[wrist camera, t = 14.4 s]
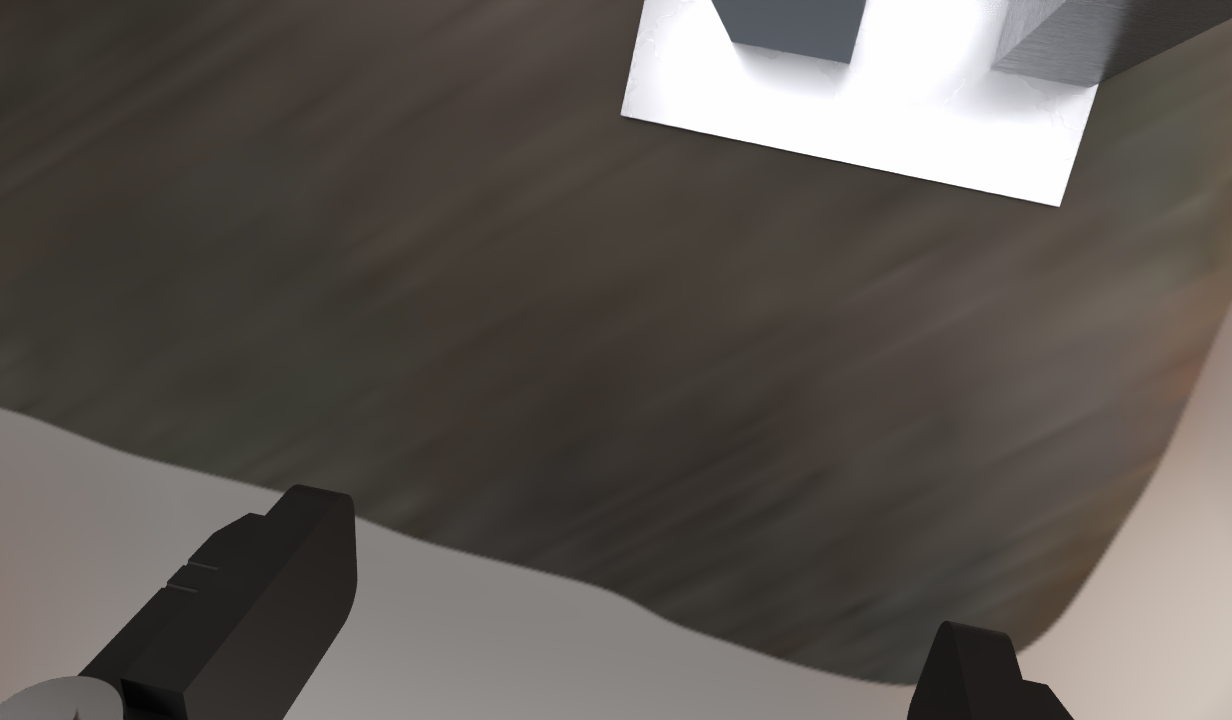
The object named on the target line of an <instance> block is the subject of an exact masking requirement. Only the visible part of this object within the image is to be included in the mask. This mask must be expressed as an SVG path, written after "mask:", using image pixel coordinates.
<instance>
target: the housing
mask: <svg viewBox="0 0 1232 720" xmlns="http://www.w3.org/2000/svg"><path fill="white" fill-rule="evenodd" d="M711 1H712V3H713V5H714V7H715V9H716V11H717V13H718V15H719V17H720V19H721V21H722V23H723V25H724V27H725V29H726V31H727V33H728V36H729V38H730V40H731V42H735V43H740V44H746V45H751V46H756V47H761V48H767V49H772V50H777V51H783V52H788V53H793V54H798V55H804V56H809V57H814V58H819V59H825V60H830V61H835V62H840V63H846V64H850V62H851V59H852V55H853V51H854V47H855V43H856V40H857V36H858V32H859V28H860V24H861V20H862V17H863V13H864V9H865V5H866V1H867V0H711Z"/></svg>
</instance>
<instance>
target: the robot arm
mask: <svg viewBox="0 0 1232 720" xmlns="http://www.w3.org/2000/svg"><path fill="white" fill-rule="evenodd" d="M356 587H357V559H356V537H355V514H354V503H353V500H352V498H351V497H350V495H347V494H343V493H338V492H333V491H328V490H323V489H318V488H314V487H309V486H304V485H294V486H292V487H291V488H290V489H289V490H288V491H287V492H286V493H285V494H284V495H283V496H282V497H281V498H280V500H279V501H278V502H277V503H276V504H275V505H274V506H273V507H272V508H271V510H270V511H269V512H268V513H267V514H266V515H265V516H263V515H258V514H254V513H248V514H247V515H245V516H243V517H241V518H240V519H238V520H236V521H234V522H232V523H231V524H229V525H227V526H225V527H224V528H222V529H220V530H218V531H216V532H215V533H213V534H212V535H211V536H210V537H209V539H208V540H207V541H206V542H205V543H204V544H203V545H202V546H201V547H200V548H199V549H198V550H197V551H196V552H195V553H194V554H193V555H192V556H191V557H190V558H189V560H188V564H187V565H186V566H185V565H183V566H182V567H181V568H180V569H179V570H178V571H177V572H176V573H175V574H174V576H172V577H171V578H170V579H169V580H168V581H167V586H166V587H165V588H161V589H160V590H159V591H158V592H157V593H156V594H155V595H154V596H153V597H152V598H151V599H150V600H149V601H148V602H147V604H146V605H145V606H144V607H143V608H142V609H141V610H140V611H139V612H138V613H137V614H136V615H135V616H134V617H133V618H132V619H131V620H130V621H129V623H127V624H126V626H125V627H124V628H123V629H122V630H121V631H120V632H119V633H118V634H117V635H116V636H115V637H114V638H113V639H112V640H111V641H110V642H109V643H108V644H107V645H106V647H105V648H104V649H103V650H102V651H101V652H100V653H99V654H98V655H97V656H96V657H95V658H94V659H93V660H92V661H91V662H90V664H88V665H87V666H86V667H85V669H84V670H83V671H81V673H79V675H77V676H71V677H61V678H56V679H51V680H48V681H44V682H41V683H38V684H35V685H33V686H31V687H28V688H26V689H24V690H22V691H20V692H18V693H16V694H14V695H13V696H11V697H10V698H8V699H7V700H5V701H3V702H2V703H1V704H0V720H283V718H284V716H285V715H286V713H287V712H288V710H289V709H290V707H291V706H292V704H293V703H294V701H295V699H296V698H297V696H298V695H299V693H300V692H301V690H302V688H303V687H304V685H305V684H306V682H307V681H308V679H309V678H310V676H311V675H312V673H313V672H314V670H315V668H316V667H317V665H318V664H319V662H320V661H321V659H322V658H323V656H324V655H325V653H326V651H327V650H328V648H329V647H330V645H331V644H332V642H333V641H334V639H335V637H336V636H337V634H338V633H339V631H340V630H341V628H342V627H343V625H344V623H345V621H346V620H347V618H348V615H349V613H350V611H351V608H352V605H353V601H354V598H355V593H356ZM907 720H1074V719H1073V718H1072V716H1071V715H1070V714H1069V712H1068V711H1067V710H1066V709H1065V707H1064V706H1063V705H1062V704H1061V702H1060V701H1059V699H1058V698H1057V697H1056V696H1055V694H1054V693H1053V692H1052V690H1051V689H1050V688H1049V686H1048V685H1046V684H1041V683H1037V682H1032V681H1027V680H1023V679H1022V675H1021V672H1020V668H1019V665H1018V662H1017V658H1016V655H1015V651H1014V648H1013V645H1012V642H1011V639H1010V638H1009V636H1008V635H1007V634H1006V633H1003V632H998V631H993V630H988V629H983V628H979V627H974V626H969V625H964V624H959V623H955V622H950V621H944V622H943V623H942V624H941V625H940V627H939V629H938V631H937V634H936V636H935V639H934V641H933V644H932V647H931V649H930V652H929V655H928V657H927V660H926V663H925V665H924V668H923V671H922V673H921V676H920V679H919V681H918V684H917V687H916V689H915V693H914V695H913V697H912V700H911V703H910V707H909V711H908V716H907Z"/></svg>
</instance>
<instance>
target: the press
mask: <svg viewBox="0 0 1232 720" xmlns="http://www.w3.org/2000/svg"><path fill="white" fill-rule="evenodd" d="M1231 18H1232V0H867V1H866V5H865V9H864V13H863V17H862V20H861V24H860V28H859V32H858V36H857V40H856V43H855V47H854V51H853V55H852V59H851V62H850V64H846V63H840V62H835V61H830V60H825V59H819V58H814V57H809V56H804V55H798V54H793V53H788V52H783V51H777V50H772V49H767V48H761V47H756V46H751V45H746V44H740V43H735V42H731V40H730V38H729V36H728V33H727V31H726V29H725V27H724V25H723V23H722V21H721V19H720V17H719V15H718V13H717V11H716V9H715V7H714V5H713V3H712V1H711V0H645V2H644V7H643V11H642V16H641V21H640V26H639V30H638V35H637V40H636V45H635V49H634V54H633V59H632V63H631V68H630V73H629V78H628V82H627V87H626V92H625V97H624V101H623V106H622V111H621V116H623V117H627V118H632V119H637V120H641V121H646V122H651V123H656V124H661V125H665V126H670V127H675V128H680V129H685V130H689V131H694V132H699V133H704V134H708V135H713V136H718V137H723V138H728V139H732V140H737V141H742V142H747V143H752V144H756V145H761V146H766V147H771V148H775V149H780V150H785V151H790V152H795V153H799V154H804V155H809V156H814V157H818V158H823V159H828V160H833V161H838V162H842V163H847V164H852V165H857V166H862V167H866V168H871V169H876V170H881V171H885V172H890V173H895V174H900V175H905V176H909V177H914V178H919V179H924V180H928V181H933V182H938V183H943V184H948V185H952V186H957V187H962V188H967V189H972V190H976V191H981V192H986V193H991V194H995V195H1000V196H1005V197H1010V198H1015V199H1019V200H1024V201H1029V202H1034V203H1038V204H1043V205H1048V206H1053V207H1060V203H1061V200H1062V197H1063V194H1064V191H1065V188H1066V185H1067V181H1068V178H1069V175H1070V172H1071V169H1072V166H1073V162H1074V159H1075V156H1076V153H1077V150H1078V147H1079V144H1080V140H1081V137H1082V134H1083V131H1084V128H1085V125H1086V122H1087V118H1088V115H1089V112H1090V109H1091V106H1092V103H1093V100H1094V96H1095V93H1096V90H1097V87H1098V84H1099V83H1101V82H1103V81H1105V80H1107V79H1109V78H1111V77H1113V76H1115V75H1117V74H1119V73H1121V72H1123V71H1125V70H1127V69H1129V68H1131V67H1133V66H1135V65H1137V64H1139V63H1141V62H1143V61H1145V60H1147V59H1149V58H1151V57H1153V56H1156V55H1158V54H1160V53H1162V52H1164V51H1166V50H1168V49H1170V48H1172V47H1174V46H1176V45H1178V44H1180V43H1182V42H1184V41H1186V40H1188V39H1190V38H1192V37H1194V36H1196V35H1198V34H1200V33H1202V32H1204V31H1206V30H1208V29H1210V28H1212V27H1214V26H1216V25H1219V24H1221V23H1223V22H1225V21H1227V20H1229V19H1231Z"/></svg>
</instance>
